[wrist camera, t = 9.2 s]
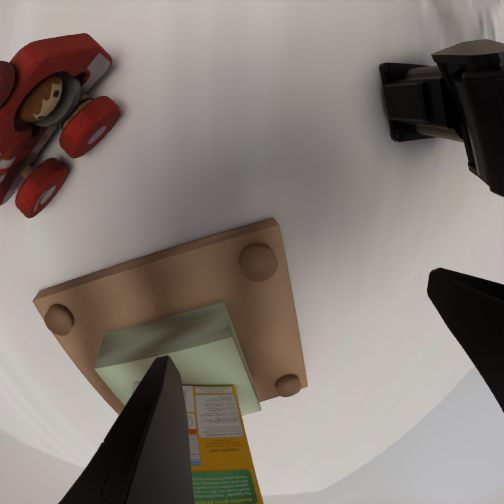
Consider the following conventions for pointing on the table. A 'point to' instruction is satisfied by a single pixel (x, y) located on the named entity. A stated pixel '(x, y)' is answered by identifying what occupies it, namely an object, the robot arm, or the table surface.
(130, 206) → the table surface
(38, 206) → the toy fire truck
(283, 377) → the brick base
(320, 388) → the table surface
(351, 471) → the table surface
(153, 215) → the table surface
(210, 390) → the crayon box
